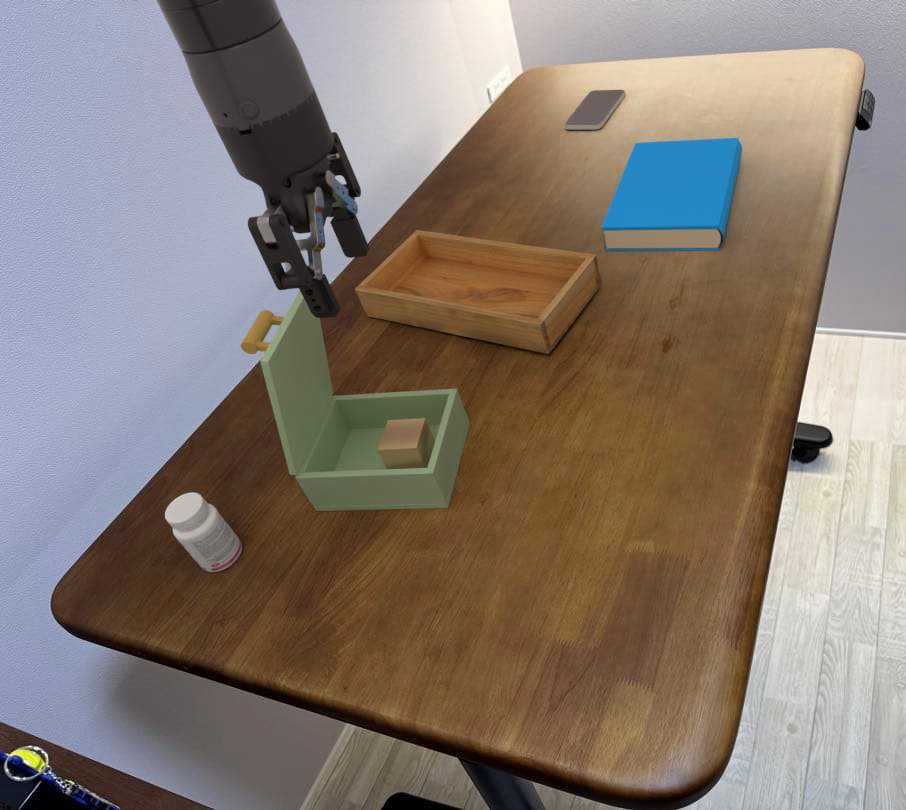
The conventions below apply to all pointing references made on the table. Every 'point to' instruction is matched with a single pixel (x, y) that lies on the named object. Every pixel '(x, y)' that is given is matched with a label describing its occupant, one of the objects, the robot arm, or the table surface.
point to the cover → (293, 375)
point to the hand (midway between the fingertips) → (343, 283)
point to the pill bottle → (203, 532)
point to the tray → (482, 289)
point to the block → (406, 444)
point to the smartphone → (595, 109)
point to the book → (674, 196)
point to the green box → (359, 463)
